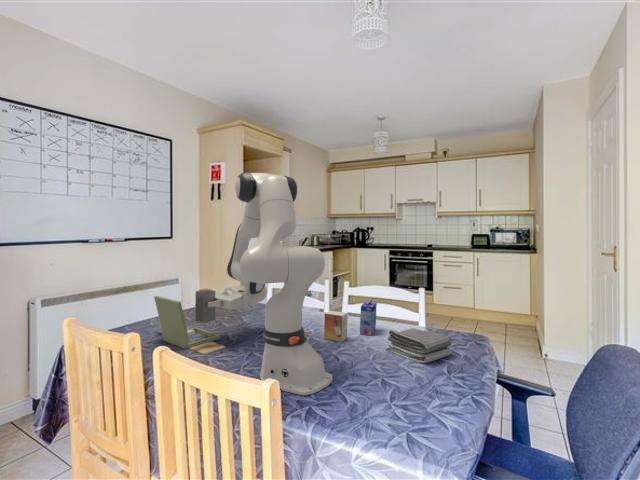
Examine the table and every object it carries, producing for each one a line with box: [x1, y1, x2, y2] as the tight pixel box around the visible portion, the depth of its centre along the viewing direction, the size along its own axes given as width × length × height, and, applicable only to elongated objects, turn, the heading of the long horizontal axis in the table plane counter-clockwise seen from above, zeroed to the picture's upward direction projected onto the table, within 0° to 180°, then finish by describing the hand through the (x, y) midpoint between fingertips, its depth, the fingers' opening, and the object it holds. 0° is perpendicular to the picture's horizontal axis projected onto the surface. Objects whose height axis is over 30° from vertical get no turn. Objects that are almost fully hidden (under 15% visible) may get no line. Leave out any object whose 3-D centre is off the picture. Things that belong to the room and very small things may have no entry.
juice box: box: [359, 298, 378, 337], centre depth 145 cm, size 10×6×14 cm, turn 161°
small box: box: [323, 310, 349, 343], centre depth 136 cm, size 8×6×10 cm
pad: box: [189, 341, 226, 356], centre depth 124 cm, size 9×9×1 cm
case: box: [153, 295, 221, 350], centre depth 133 cm, size 17×18×18 cm
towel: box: [385, 328, 452, 364], centre depth 121 cm, size 15×18×8 cm
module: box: [195, 288, 216, 324], centre depth 125 cm, size 5×5×12 cm
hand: (202, 303), depth 124 cm, fingers closed on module, 5 cm apart
